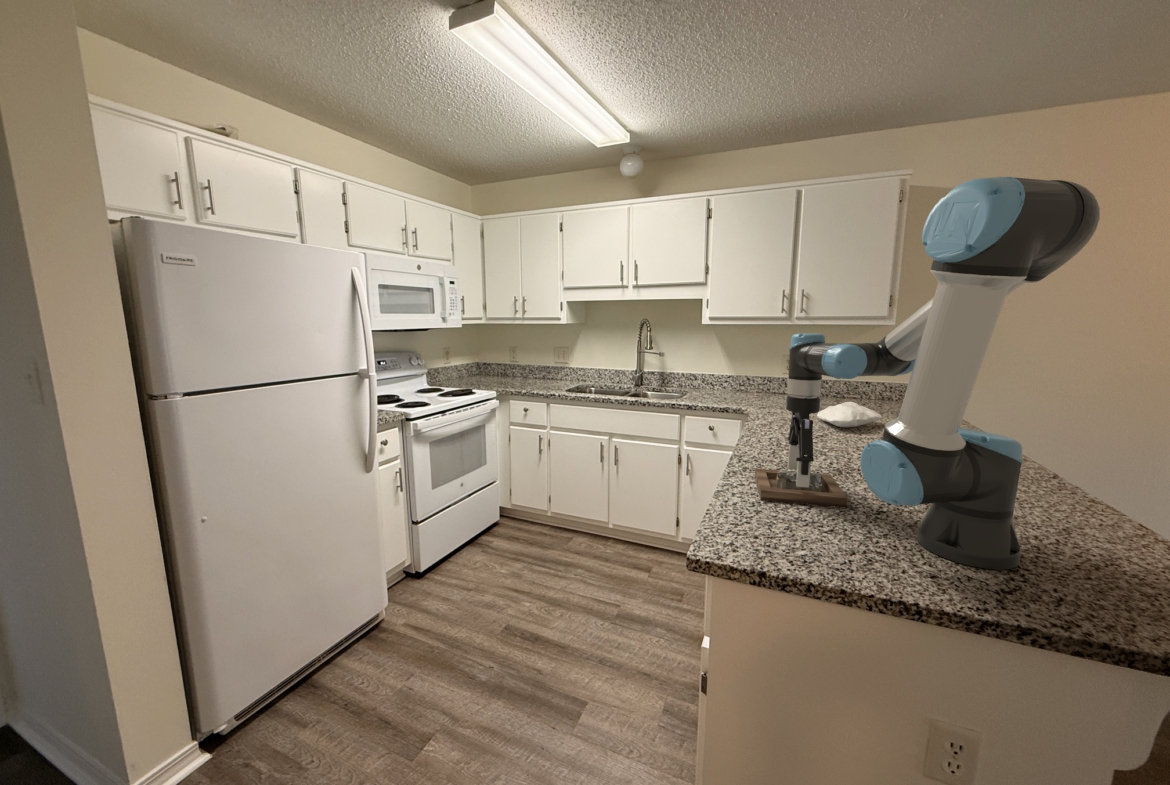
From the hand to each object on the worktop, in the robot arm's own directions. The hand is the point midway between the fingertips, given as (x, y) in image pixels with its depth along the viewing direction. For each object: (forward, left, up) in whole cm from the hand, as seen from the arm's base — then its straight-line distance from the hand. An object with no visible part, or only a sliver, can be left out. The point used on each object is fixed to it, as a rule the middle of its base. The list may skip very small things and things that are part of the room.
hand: (797, 477), depth 116 cm
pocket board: (0, 0, -4) cm, 4 cm away
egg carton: (0, 0, -3) cm, 3 cm away
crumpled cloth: (+86, -33, -4) cm, 92 cm away
